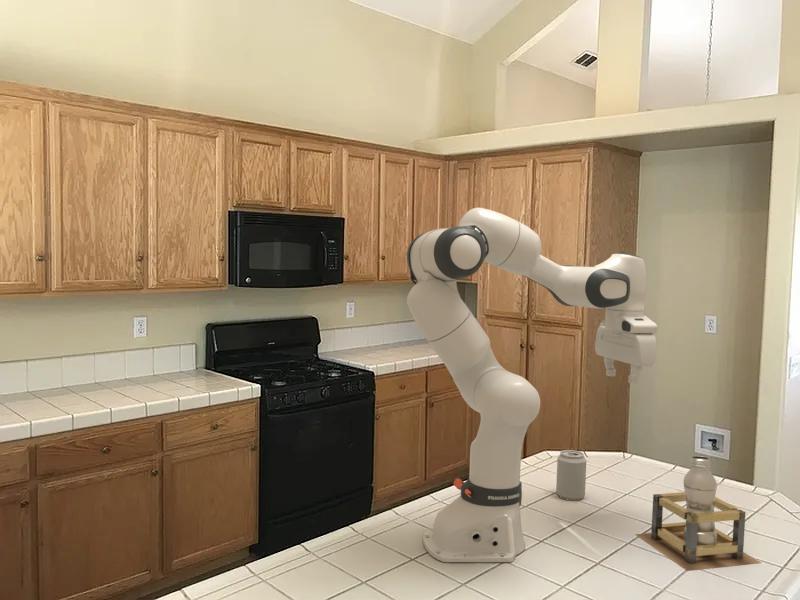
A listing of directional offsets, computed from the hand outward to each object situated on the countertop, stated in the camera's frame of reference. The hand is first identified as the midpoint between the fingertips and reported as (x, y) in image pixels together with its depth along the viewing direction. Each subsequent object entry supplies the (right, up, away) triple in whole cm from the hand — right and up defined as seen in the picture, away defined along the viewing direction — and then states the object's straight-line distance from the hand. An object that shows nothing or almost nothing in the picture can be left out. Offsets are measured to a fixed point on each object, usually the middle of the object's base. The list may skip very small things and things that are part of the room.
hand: (621, 379), depth 159 cm
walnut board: (+11, -36, -14) cm, 40 cm away
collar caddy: (+11, -35, -14) cm, 39 cm away
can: (-7, -34, +19) cm, 40 cm away
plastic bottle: (+12, -35, -16) cm, 40 cm away
